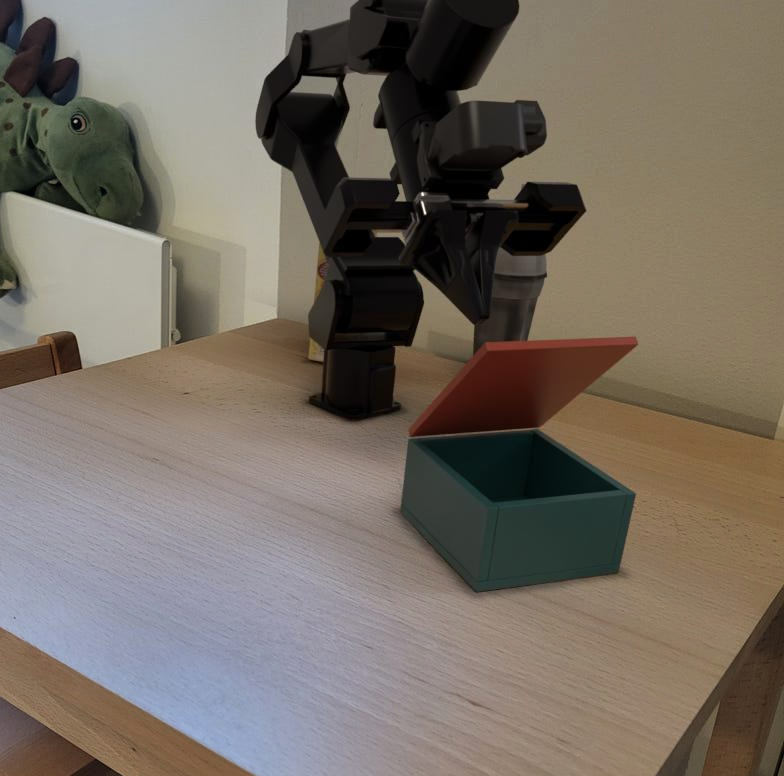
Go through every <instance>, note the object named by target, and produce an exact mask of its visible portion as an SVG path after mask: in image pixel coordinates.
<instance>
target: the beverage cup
mask: <svg viewBox="0 0 784 776" xmlns="http://www.w3.org/2000/svg"><path fill="white" fill-rule="evenodd" d="M525 184H526V183H521V187H520V190H521V189H522V188H523V187H524V185H525ZM547 277H548V271H547V256H546V254H544V255H542V256H512V255H510V254H509V253H508V252H506V251H505V250H504V249H502V248H501V246H500V248H499V249H498V253H497V257H496V262H495V271H494V281H493V291H492V302H491V313H490V318H489V319H488V321H487V322H486V323H485V324H484V325H473V344H472V345H473V346H472V348H473V349H472V357H473V356H474V355H475V353H476V352H477V351H478V350H479V349H480V348H481V347H482V345H483V344H484V343H485V342H508V341H529V335H530V331H531V327H532V324H533V320H534V316H535V311H536V307H537V303H538V299H539V297H540V296H541V293H542V290H543V287H544V285H545V284H544V283H545V279H546V278H547Z"/></svg>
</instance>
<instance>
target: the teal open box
mask: <svg viewBox="0 0 784 776" xmlns="http://www.w3.org/2000/svg"><path fill="white" fill-rule="evenodd" d="M403 474H404V475H403V483H402V484H403V486H402V491H401V492H402V494H401V504H400V510H399V511H400V512H399V513H401V515H402V516H403V517H404V518H405V519H406V520H407V521H408V522H409V524H411V525H412V526H413V528H414V529H416V530H417V531H418V533H420V535H421V536H422V537H423V538H424V539H425V540H426V541H427V542H428V543H429V544H430V545H431V546H432V548H434V550H436V552H438V554H439V555H440V556H441V557H442V558H443V559H444V560H445V561H446V562H447V563H448V564H449V565H450V566H451V567H452V568H453V569H454V571H456V573H457V574H458V575H459V576H460V577H461V578H462V579H463V580H464V581H465V582H466V583H467V584H468V585H469V587H471V588H472V589H473V591H474V592H476V593H479V592H486V591H493V590H502V589H508V588H509V589H510V588H517V587H523V586H532V585H537V584H545V583H546V584H547V583H552V582H553V583H554V582H561V581H569V580H576V579H583V578H591V577H597V576H607V575H613V574H618V573H619V572H620V567H621V563H622V560H623V554H624V552H625V551H624V550H625V545H626V541H627V536H628V533H629V528H630V524H631V519H632V515H633V509H634V506H635V502H636V497H637V493H636V492H635V491H634V490H632V489H630V488H629V487H628V486H625V484H623V483H621V482H620V481H619V480H617V479H615V478H614V477H612V476H611V475H609V474H607V473H606V472H604V471H603V470H602V469H600V468H599V467H597V466H595V465H594V464H592V463H590V462H589V461H587V460H586V459H585V458H583V457H582V456H580V455H579V454H577V453H575V452H574V451H572V450H571V449H569V448H568V447H566V446H565V445H564V444H562V443H560V442H559V441H558V440H555V439H554V438H552V437H551V436H549V435H548V434H546V433H545V432H543V431H542V430H540V429H539V428H530V429H519V430H505V431H492V432H478V433H465V434H451V435H438V436H424V437H411V438H408V439H407V446H406V455H405V466H404V473H403Z"/></svg>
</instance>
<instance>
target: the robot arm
mask: <svg viewBox="0 0 784 776" xmlns="http://www.w3.org/2000/svg"><path fill="white" fill-rule="evenodd" d="M519 12H520V1H519V0H356V2H354V3H353V4H352V5H351V7H350V8H349V19H346V20H342V21H338V22H334V23H331V24H328V25H324V26H322V27H318V28H315V29H303V30H301V32H299V31H297V32H295V33H294V35H293V36H292V40H291V43H290V46H289V50H288V53H287V55H286V56H284V58H283V59H282V60H281V61H280V62H279V63H278V64H277V65H276V66H275V67H274V68H273V69H272V70H271V71H270V72H269V73H268V74H267V75H266V77H265V78H264V80H263V84H262V87H261V90H260V94H259V99H258V102H257V106H256V111H255V120H254V122H255V132H256V136H257V138H258V139H259V140H260V141H261V144H262V146H263V148H264V150H265V152H266V154H267V156H268V157H269V159H270V160H271V161H272V162H274V163H276V164H277V165H279V166H281V167H283V168H284V169H286V170H288V171H289V172H291V173H292V174H293V175H292V176H293V178H294V180H295V182H296V186H297V188H298V191H299V193H300V195H301V199H302V200H303V203H304V206H305V208H306V212H307V213H308V216H309V219H310V221H311V224H312V226H313V230H314V232H315V234H316V237H317V239H318V242H320V244H321V247H322V250H323V253H324V255H325V257H326V260H327V262H328V265H329V266H328V269H327V273H326V276H325V279H324V283H323V286H322V289H321V291H320V293H319V294H318V296H317V298H316V300H315V302H314V301H313V304H312V306H311V308H310V310H309V312H308V314H307V322H308V324H307V325H308V337H309V339H310V338H311V339H312V340H314V341H315V342H316V343H317V344H318V345H320V346H321V347H322V348H323V349H324V359H323V362H322V377H321V392H320V393H319V392H318V393H315V394H310V395H308V402H309V403H312V404H313V405H316V406H318V407H320V408H323V409H325V410H327V411H329V412H331V413H334V414H336V415H338V416H341V417H342V418H345V419H348V420H350V421H358V420H362V419H366V418H370V417H374V416H378V415H383V414H386V413H390V412H394V411H398V410H401V409H402V405H403V403H402V402H400V401H397V400H395V399H394V392H395V381H396V371H397V366H396V365H395V360H396V359H395V358H396V357H395V356H396V347H405V348H409V347H410V348H411V347H412V345H413V343H414V339H415V338H416V337H415V336H416V333H417V330H418V327H419V323H420V319H421V316H422V313H423V309H424V306H425V300H424V299H425V298H424V289H423V287H422V284H421V282H420V280H419V278H418V276H417V275H416V273H415V271H416V272H418V273H419V274H420V275H421V276H423V278H425V279H426V280H427V281H428V282H429V283H431V284H432V285H433V286H434V287H435V288H437V290H438V291H440V293H442V295H444V297H445V298H447V299H448V301H449V302H450V303H451V304H453V306H454V307H455V308H456V309H457V310H458V311H459V312H460V313H461V314H462V315H463V316H464V317H465V318H466V319H467V320H468V321H469V322H470V323H471V324H472V325H473V326H474V325H484V324H485V323H486V322H487V321H488V319H489V318H490V313H491V302H492V291H493V281H494V271H495V262H496V257H497V253H498V249H499V248H500V246H501V248H502V249H504V250H505V251H506V252H508V253H509V254H510V255H512V256H542V255H544V254H545V255H546V254H548V253H551V252H552V251H553V250H554V249H555V248H556V247H557V245H558V244H559V243H560V242H561V241H562V239H563V238H565V237H566V235H567V234H568V233H569V231H570V230H571V229H573V227H574V226H575V225H576V224H577V223H578V221H580V220H581V218H582V217H583V216H584V214H585V213H586V212H587V208H586V204H585V201H584V199H583V196H582V193H581V191H580V188H579V186H578V184H576V183H571V182H566V181H565V182H562V181H561V182H559V181H526V183H524V184H525V185H524V187H523V188H522V189H521V188H520V191H519V192H518V193H517V194H516V196H515V198H514V199H491V198H490V196H489V193H490V192H491V190H498V188H499V187H500V185H501V184H502V183H503V182H504V180H505V175H504V173H503V168H504V167H506V166H507V165H509V164H510V163H512V162H514V160H516V159H523V158H524V157H525V156H529V155H531V154H532V153H534V152H536V151H537V150H539V149H540V148H542V147H543V146H544V145H545V144H546V141H547V138H548V131H547V120H546V117H545V115H544V113H543V110H542V108H541V106H540V103H539V102H538V100H527V99H515V101H514V102H512V101H492V100H469V101H465V102H461V98H460V95H459V93H458V92H462V91H467V90H469V89H472V88H474V87H477V86H478V85H479V83H480V81H481V79H482V78H483V76H484V74H485V72H486V71H487V69H488V68H489V66H490V63H491V62H492V60H493V58H494V57H495V55H496V53H497V51H498V50H499V48H500V46H501V45H502V43H503V41H504V40H505V38H506V37H507V34H508V33H509V31H510V29H511V28H512V26H513V24H514V22H515V21H516V19H517V17H518V15H519ZM353 73H358V74H360V75H365V76H366V75H367V76H382V77H385V78H384V80H383V82H382V83H381V85H380V88H379V90H378V95H377V97H378V101H379V103H378V105H377V108H376V110H375V112H374V115H373V122H372V125H373V128H374V129H376V130H377V129H378V130H386V131H387V135H388V139H389V143H390V146H391V149H392V154H393V157H394V161H395V162H394V164H393V165H392V168H391V169H390V171H389V177H390V178H389V177H388V178H387V177H350V176H349V173H348V170H347V169H346V167H345V165H344V162H343V160H342V157H341V154H340V153H339V151H338V148H337V147H338V144H339V140H340V136H341V134H342V131H343V129H344V125H345V123H346V122H347V121H346V120H347V118H348V115H349V112H350V110H351V105H350V102H349V98H348V96H347V92H346V89H345V86H344V83H345V79H346V76H347V75H348V74H353ZM302 77H310V78H329V79H335V80H336V87H335V89H334V93H333V95H332V94H331V93H320V92H319V93H318V92H300V91H293V90H294V89H295V88H296V87H297V86H298V85H299V84H300V82H301V80H302ZM398 185H401V187H402V188H401V189H402V191H403V194H404V199H405V200H397V199H398V198H399V196H400V194H401V192H400V189H399V186H398ZM373 230H375V231H376V232H377V234H378V233H384V234H385V233H386V234H387V233H391V234H392V233H396V234H397V233H399V234H400V233H401V235H402V238H403V240H402V239H401V238H400V237H398V236H377V237H375V235H374V232H373ZM403 241H404V242H403Z"/></svg>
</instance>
